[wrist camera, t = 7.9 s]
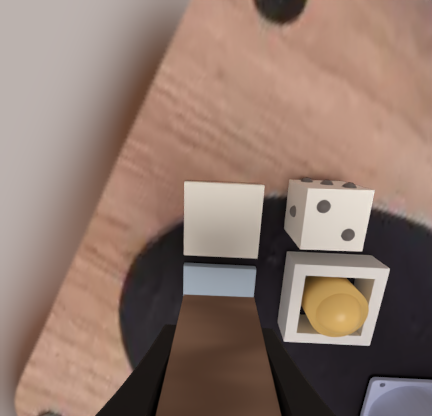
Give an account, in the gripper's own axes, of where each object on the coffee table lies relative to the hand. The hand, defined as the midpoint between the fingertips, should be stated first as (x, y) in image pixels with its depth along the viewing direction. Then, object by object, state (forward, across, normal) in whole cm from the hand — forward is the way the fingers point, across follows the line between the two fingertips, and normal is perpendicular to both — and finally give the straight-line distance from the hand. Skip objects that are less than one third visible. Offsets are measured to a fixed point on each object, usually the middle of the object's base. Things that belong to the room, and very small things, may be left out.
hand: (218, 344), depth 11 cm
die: (+9, -7, -4) cm, 13 cm away
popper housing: (+9, -9, +3) cm, 13 cm away
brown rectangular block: (+2, 0, 0) cm, 2 cm away
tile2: (+9, 0, -3) cm, 10 cm away
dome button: (+9, -9, +3) cm, 13 cm away
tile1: (+9, 0, +4) cm, 10 cm away
